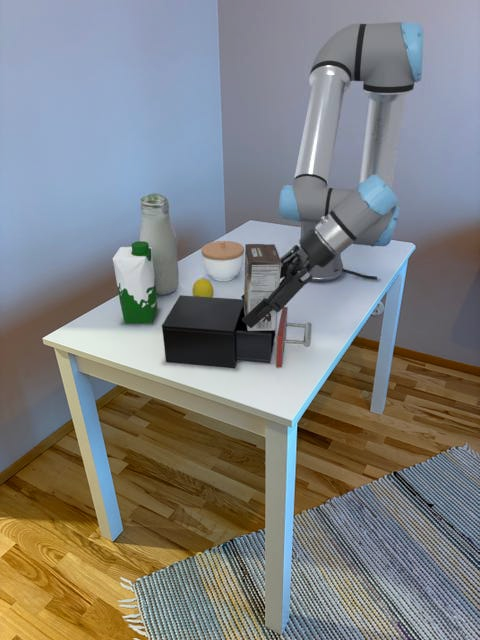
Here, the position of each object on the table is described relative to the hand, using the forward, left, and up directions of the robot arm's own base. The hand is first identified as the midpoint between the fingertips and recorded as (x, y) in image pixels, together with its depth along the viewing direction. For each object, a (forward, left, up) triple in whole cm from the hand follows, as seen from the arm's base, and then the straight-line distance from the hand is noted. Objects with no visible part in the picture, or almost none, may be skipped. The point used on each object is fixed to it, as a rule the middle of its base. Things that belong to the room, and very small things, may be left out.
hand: (245, 311), depth 101 cm
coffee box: (-3, 0, -2) cm, 4 cm away
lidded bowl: (+6, -41, -11) cm, 43 cm away
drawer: (-4, 0, -10) cm, 11 cm away
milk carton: (+27, -17, -11) cm, 34 cm away
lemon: (+11, -23, -11) cm, 28 cm away
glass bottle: (+23, -31, -11) cm, 40 cm away
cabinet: (+9, -2, -11) cm, 14 cm away
